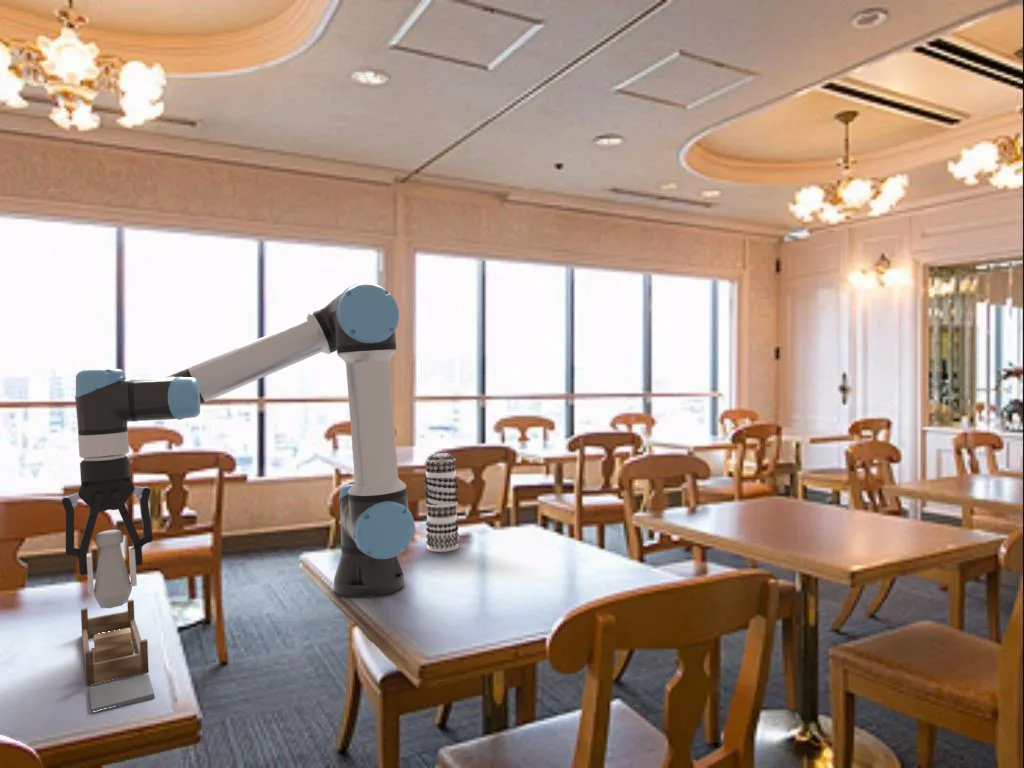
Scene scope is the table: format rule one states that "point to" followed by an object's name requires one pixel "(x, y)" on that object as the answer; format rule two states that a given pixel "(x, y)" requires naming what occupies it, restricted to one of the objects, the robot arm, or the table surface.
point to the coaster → (121, 692)
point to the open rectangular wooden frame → (118, 665)
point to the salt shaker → (111, 571)
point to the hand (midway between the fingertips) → (112, 587)
